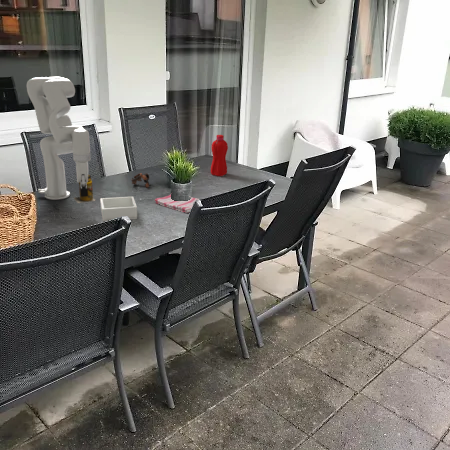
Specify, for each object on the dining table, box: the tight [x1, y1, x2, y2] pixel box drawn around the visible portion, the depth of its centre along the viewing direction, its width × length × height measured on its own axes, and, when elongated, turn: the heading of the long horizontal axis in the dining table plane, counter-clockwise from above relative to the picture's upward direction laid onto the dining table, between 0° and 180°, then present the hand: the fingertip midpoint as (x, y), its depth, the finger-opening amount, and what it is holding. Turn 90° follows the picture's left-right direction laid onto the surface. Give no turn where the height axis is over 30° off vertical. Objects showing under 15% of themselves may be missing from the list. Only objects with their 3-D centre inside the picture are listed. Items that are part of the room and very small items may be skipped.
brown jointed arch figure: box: [130, 172, 150, 188], centre depth 271 cm, size 12×10×8 cm
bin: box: [99, 196, 138, 222], centre depth 228 cm, size 16×15×6 cm
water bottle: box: [210, 134, 229, 177], centre depth 291 cm, size 9×11×25 cm
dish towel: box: [154, 193, 200, 214], centre depth 245 cm, size 17×23×4 cm
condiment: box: [73, 173, 96, 204], centre depth 221 cm, size 7×8×12 cm
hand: (84, 193), depth 223 cm, fingers closed on condiment, 6 cm apart
